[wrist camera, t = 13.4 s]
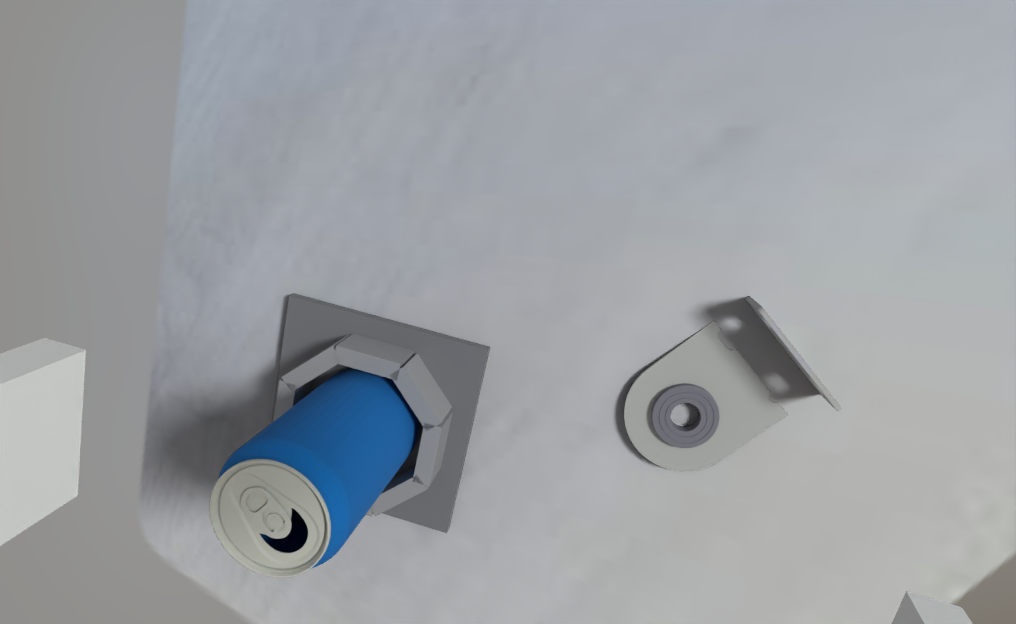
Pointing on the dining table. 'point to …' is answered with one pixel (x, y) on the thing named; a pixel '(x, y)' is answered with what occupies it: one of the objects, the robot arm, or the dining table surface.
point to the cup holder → (418, 375)
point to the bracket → (705, 400)
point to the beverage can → (312, 474)
